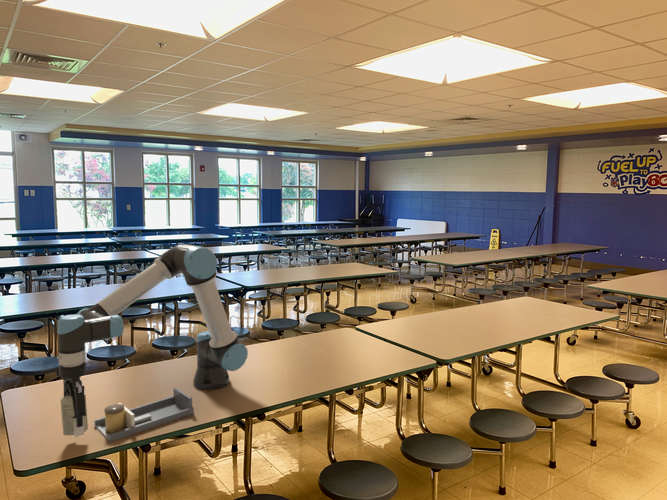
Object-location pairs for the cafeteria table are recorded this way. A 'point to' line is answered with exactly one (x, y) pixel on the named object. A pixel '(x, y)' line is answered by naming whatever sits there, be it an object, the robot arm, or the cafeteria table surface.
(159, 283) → the robot arm
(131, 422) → the pusher
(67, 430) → the skincare box
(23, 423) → the cafeteria table surface
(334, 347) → the cafeteria table surface
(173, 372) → the cafeteria table surface
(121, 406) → the jar
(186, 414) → the lane
